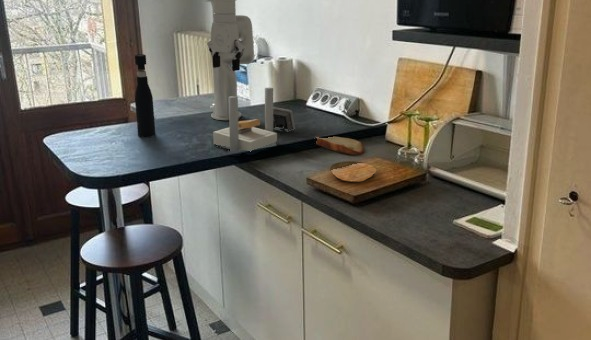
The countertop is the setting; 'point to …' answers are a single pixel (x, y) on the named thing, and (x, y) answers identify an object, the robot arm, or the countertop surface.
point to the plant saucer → (342, 164)
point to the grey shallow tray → (246, 138)
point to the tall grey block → (269, 109)
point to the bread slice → (341, 145)
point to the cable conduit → (233, 123)
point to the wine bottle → (143, 101)
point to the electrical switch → (283, 118)
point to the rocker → (248, 123)
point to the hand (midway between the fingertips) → (226, 68)
